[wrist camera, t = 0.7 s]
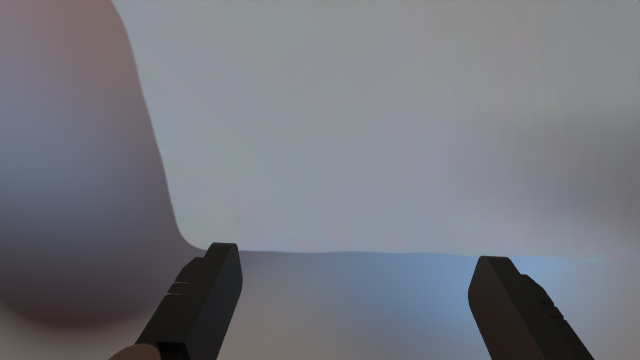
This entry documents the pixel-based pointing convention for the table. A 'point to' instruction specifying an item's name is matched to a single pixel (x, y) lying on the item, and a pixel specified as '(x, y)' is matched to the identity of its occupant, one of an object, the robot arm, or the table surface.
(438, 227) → the table surface
